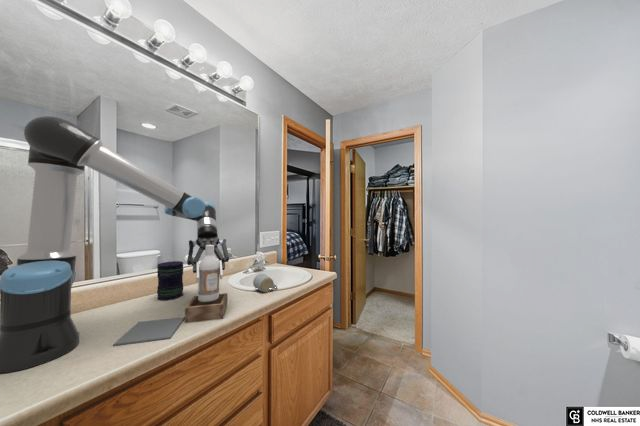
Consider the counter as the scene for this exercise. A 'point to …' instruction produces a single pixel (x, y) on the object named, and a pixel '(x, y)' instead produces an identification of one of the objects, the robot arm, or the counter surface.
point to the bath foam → (208, 276)
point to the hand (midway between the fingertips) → (209, 278)
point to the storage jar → (170, 280)
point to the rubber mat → (150, 331)
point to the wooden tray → (206, 309)
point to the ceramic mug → (263, 283)
